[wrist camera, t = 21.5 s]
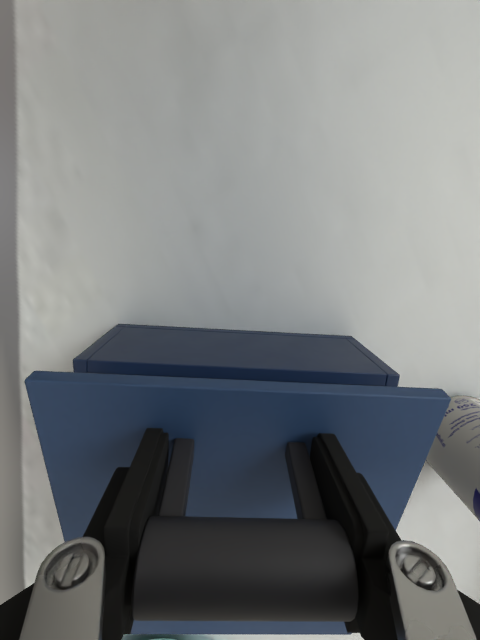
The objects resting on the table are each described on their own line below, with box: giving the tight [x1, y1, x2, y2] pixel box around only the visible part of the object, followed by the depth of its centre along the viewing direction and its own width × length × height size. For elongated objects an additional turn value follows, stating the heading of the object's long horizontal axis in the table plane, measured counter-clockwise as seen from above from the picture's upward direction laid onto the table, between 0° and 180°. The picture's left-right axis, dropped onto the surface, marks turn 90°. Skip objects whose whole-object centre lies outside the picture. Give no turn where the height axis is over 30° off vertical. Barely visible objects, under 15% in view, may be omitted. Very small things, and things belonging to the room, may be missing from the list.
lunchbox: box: [73, 324, 399, 387], centre depth 18 cm, size 15×14×6 cm
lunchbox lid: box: [25, 371, 451, 634], centre depth 11 cm, size 16×14×5 cm
